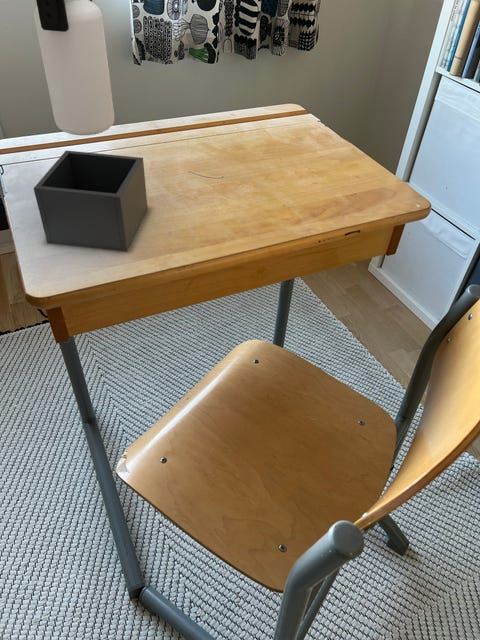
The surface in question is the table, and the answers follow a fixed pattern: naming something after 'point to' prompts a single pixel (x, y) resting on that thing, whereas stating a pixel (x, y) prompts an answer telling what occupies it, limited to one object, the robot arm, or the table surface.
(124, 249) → the waste bin
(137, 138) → the table surface
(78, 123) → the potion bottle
